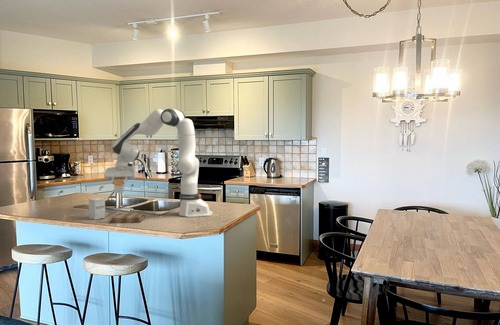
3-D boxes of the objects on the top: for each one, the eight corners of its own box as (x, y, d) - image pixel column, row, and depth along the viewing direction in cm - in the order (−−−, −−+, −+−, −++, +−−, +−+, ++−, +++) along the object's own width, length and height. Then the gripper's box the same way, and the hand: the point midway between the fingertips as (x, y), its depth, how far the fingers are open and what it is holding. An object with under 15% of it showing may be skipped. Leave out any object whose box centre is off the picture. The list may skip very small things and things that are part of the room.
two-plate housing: (123, 191, 249) (123, 178, 248) (122, 192, 245) (121, 179, 244) (116, 192, 248) (115, 178, 248) (114, 193, 244) (114, 179, 244)
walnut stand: (145, 216, 242) (145, 212, 242) (140, 222, 226) (140, 217, 226) (117, 217, 241) (116, 212, 241) (109, 223, 225) (109, 218, 225)
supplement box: (95, 220, 234) (94, 200, 233) (88, 218, 238) (88, 198, 237) (105, 217, 239) (105, 198, 238) (99, 216, 244) (98, 197, 243)
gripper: (105, 164, 251) (101, 181, 242) (136, 164, 253) (133, 180, 244) (107, 170, 256) (103, 186, 247) (137, 170, 258) (135, 186, 249)
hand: (118, 183), depth 245 cm, fingers closed on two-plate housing, 5 cm apart
